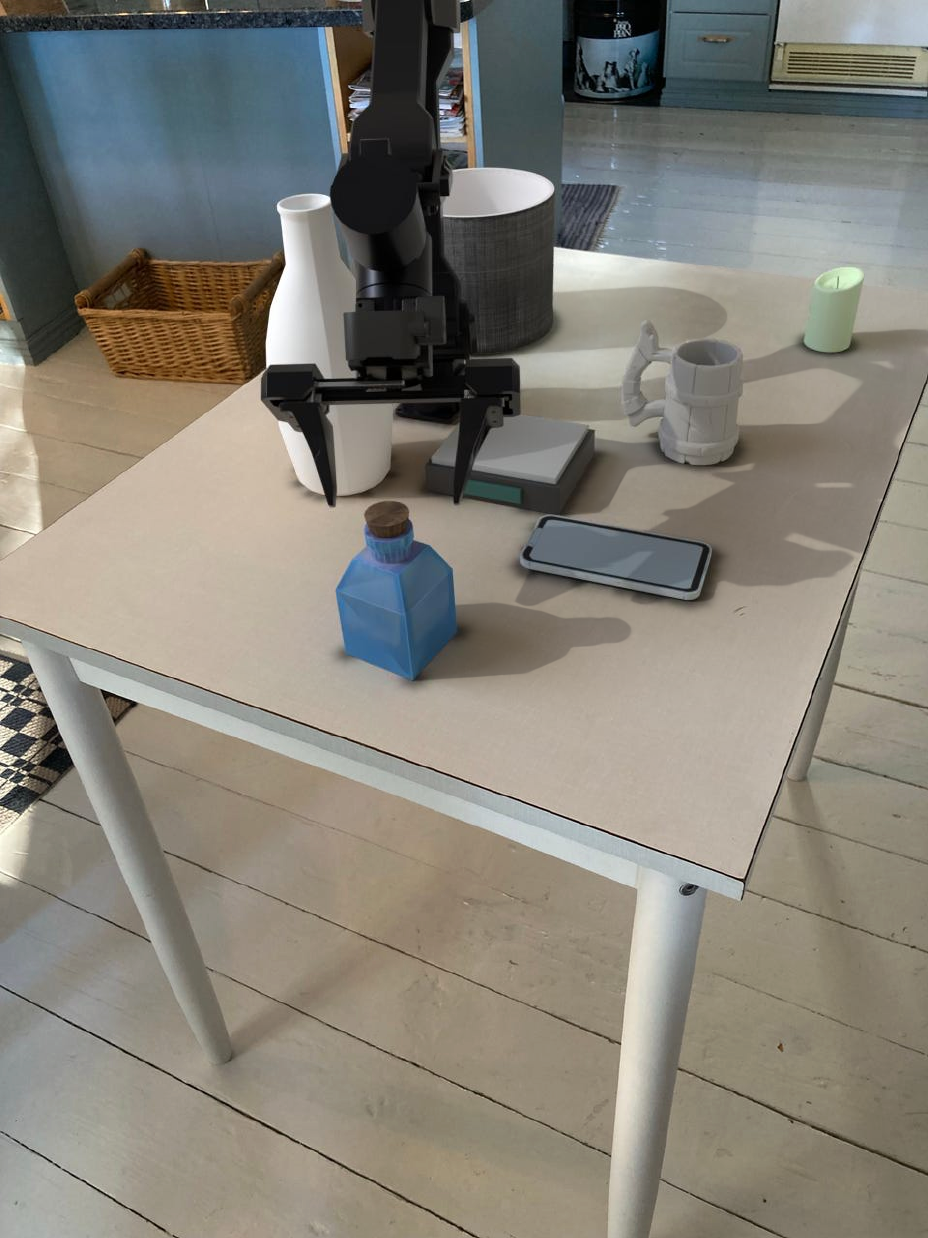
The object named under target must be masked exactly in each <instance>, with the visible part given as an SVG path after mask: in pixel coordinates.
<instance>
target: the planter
mask: <svg viewBox="0 0 928 1238" xmlns="http://www.w3.org/2000/svg"><path fill="white" fill-rule="evenodd" d="M452 171H453V183H452V188H451V192H450V196H446V199H445V201H444V203H443V228H444V255H445V257H446V259H447V260H448V262H449V264H450V265H451V267H452V269H453V270H454V272H455V274H456V275H457V277H458V279H459V280H460V283H461V298H462V300H468V306H469V307H470V311H471V312H472V313H473V314H474V315H475V321H476V331H477V352H476V353H474V354H472V355H471V356H474V355H475V356H477V355H480V356H481V355H493V354H499V353H500V354H501V353H506V352H511V351H515V350H518V349H521V348H524V347H527V346H531V345H532V344H534V343H536V342H538V341H539V340H541V339H542V338H544V337H545V336H546V335H547V334H548V333H549V332H550V331H551V329H552V328H553V325H554V269H555V268H554V266H555V265H554V264H555V263H554V261H555V258H554V257H555V253H554V252H555V204H556V202H555V201H556V200H555V199H556V188H555V185H554V184H553V182H552V181H551V180H549V179H548V178H546V177H545V176H543V175H540V174H537V173H535V172H531V171H527V170H522V169H514V168H507V167H506V168H504V167H471V168H468V167H467V168H459V169H452Z"/></svg>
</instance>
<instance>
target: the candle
mask: <svg viewBox="0 0 928 1238" xmlns="http://www.w3.org/2000/svg"><path fill="white" fill-rule="evenodd" d="M864 279H865V272H864V271H863V270H862V269H861V268H859V267H855V266H842V267H837V268H833V269H830V270H827V271H825V272H823V273H822V274H820V275H819V276H818V277H817V278H816V279H815V281H814V283H813V287H812V293H811V299H810V304H809V310H808V316H807V321H806V327H805V333H804V338H803V343H804V345H805V346H806V347H807V348H809V349H810V350H812V351H816V352H819V353H826V354H834V353H839V352H840V353H841V352H843V351H846V350H847V349H848V348H849V347H850V345H851V342H852V336H853V333H854V332H853V331H854V327H855V322H856V318H857V313H858V307H859V303H860V299H861V293H862V289H863V285H864V284H863V283H864Z"/></svg>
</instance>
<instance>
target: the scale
mask: <svg viewBox="0 0 928 1238" xmlns="http://www.w3.org/2000/svg"><path fill="white" fill-rule="evenodd" d="M503 418H504V425H503V427H500V428H492V429H490V431H489V433H488V435H487V437H486V439H485V441H484V443H483V445H482V447H481V449H480V451H479V453H478V455H477V457H476V459H475V462H474V465H473V468H472V470H471V473H470V476H469V479H468V482H467V485H466V488H465V491H464V494H463V497H462V498H464V499H470V500H476V501H481V502H487V503H492V504H496V505H502V506H508V507H513V508H518V509H519V508H520V509H525V510H530V511H535V512H542V513H545V514H546V513H547V514H550V515H557V516H560V514H561V512H562V510H563V509H564V507H565V505H566V504H567V502H568V500H569V498H570V497H571V495H572V493H573V492H574V490H575V489H576V486H577V485H578V483H579V481H580V480H581V478H582V476H583V475H584V473H585V471H586V470H587V468H588V466H589V465H590V463H591V461H592V459H593V458H594V456H595V443H596V442H595V441H596V429H592V428H590V425H589V424H585V423H579V422H571V421H565V420H559V419H553V418H547V417H539V416H533V415H527V414H526V415H525V414H521V415H518V416H515V417H503ZM459 424H460V422H459V423H457V425H456V426H455V427H454V429H452V431H451V432H450V433H449V434H448V436H447V437H446V438H445V440H444V441H443V442H442V443H441V444H440V446H439V447H438V448H437V449H436V451H435V452H434V453H433V454H432V456H431V457H430V459H428V461H427V462H426V463H425V465H424V471H425V481H426V483H425V484H426V491H427V492H431V493H437V494H443V495H449V496H453V478H454V469H455V460H456V452H457V443H458V434H459Z"/></svg>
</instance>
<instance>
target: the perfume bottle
mask: <svg viewBox="0 0 928 1238" xmlns="http://www.w3.org/2000/svg"><path fill="white" fill-rule="evenodd" d="M363 516H364V520H365V525H364V527H363V533H364V540H365V541H364V542H365V544H366V546H365V547H363V549H361V550H360V551H359V552H358V553H357V554H356V555H355V556H354V557H353V558H351V560H350V562H349V564H348V566H347V568H346V569H345V571H344V573H343V575H342V577H341V579H340V580H339V582H338V584H337V586H336V587H335V589H334V592H335V597H336V602H337V609H338V615H339V622H340V627H341V633H342V639H343V646H344V651H345V654H346V655H349V656H351V657H353V658H356V659H359V660H361V661H363V662H366V663H368V664H370V665H373V666H375V667H378V668H380V669H383V670H386V671H388V672H391V673H393V674H395V675H398V676H400V677H403V678H406V679H407V680H410V681H413V680H415V679H416V678H417V676H418V675H419V674H420V673H421V672H422V671H423V670H424V669H425V668H426V667H427V666H428V665H429V664H430V663H431V662H432V660H433V659H434V658H435V657H436V656H437V655H438V654H439V653H440V652H442V649H443V648H444V647H445V646H446V645H447V644H448V643H449V642H450V641H451V640H453V638H454V637H455V636H456V635H457V634H458V624H457V611H456V610H457V609H456V596H455V595H456V594H455V580H454V569H453V567H451V565H450V564H449V563H448V562H447V561H446V560H444V558H443V557H442V556H441V555H440V554H439V553H438V552H437V551H436V550H435V549H434V548H433V547H432V546H431V544H427V543H424V542H421V541H418V540H415V533H414V525H413V522H412V520H411V519H410V518H409V517H410V508H409V507H408V506H407V505H406V504H405V503H403V502H400V501H397V500H384V501H378V502H376V503H373V504H371V505H370V506H368V507H367V508H366V509H365V510H364V514H363Z"/></svg>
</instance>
